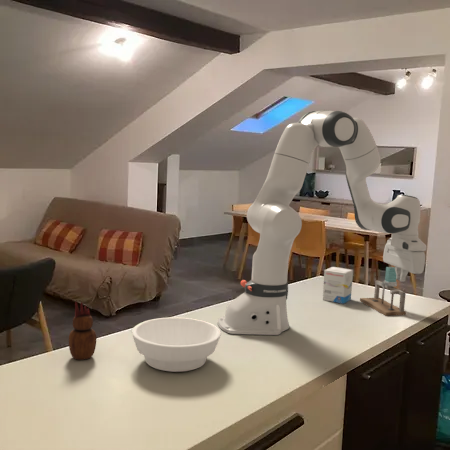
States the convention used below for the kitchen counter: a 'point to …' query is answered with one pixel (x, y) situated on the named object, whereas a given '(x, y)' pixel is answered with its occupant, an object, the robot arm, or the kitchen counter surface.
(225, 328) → the robot arm
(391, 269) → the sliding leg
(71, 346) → the wooden figurine
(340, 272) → the ink box
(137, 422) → the kitchen counter surface
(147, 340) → the bowl
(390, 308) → the board
